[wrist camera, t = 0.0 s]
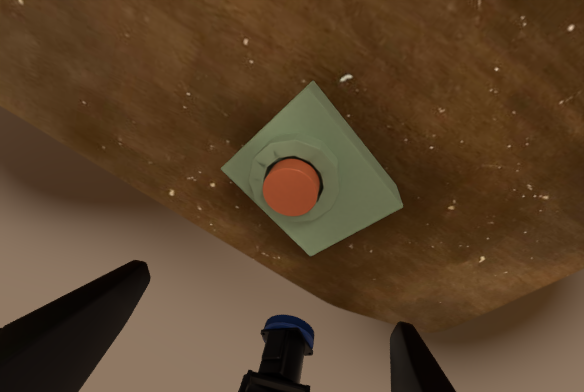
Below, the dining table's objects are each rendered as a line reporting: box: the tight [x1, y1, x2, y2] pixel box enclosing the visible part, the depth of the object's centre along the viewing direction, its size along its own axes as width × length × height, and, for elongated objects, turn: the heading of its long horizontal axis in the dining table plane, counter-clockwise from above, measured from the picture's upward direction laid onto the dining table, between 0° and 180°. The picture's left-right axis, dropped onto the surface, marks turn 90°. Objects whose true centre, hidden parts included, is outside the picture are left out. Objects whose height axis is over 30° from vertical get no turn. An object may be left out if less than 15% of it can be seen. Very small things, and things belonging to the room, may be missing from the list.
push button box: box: [221, 81, 403, 256], centre depth 22 cm, size 12×10×6 cm
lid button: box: [263, 159, 320, 216], centre depth 19 cm, size 4×4×2 cm
